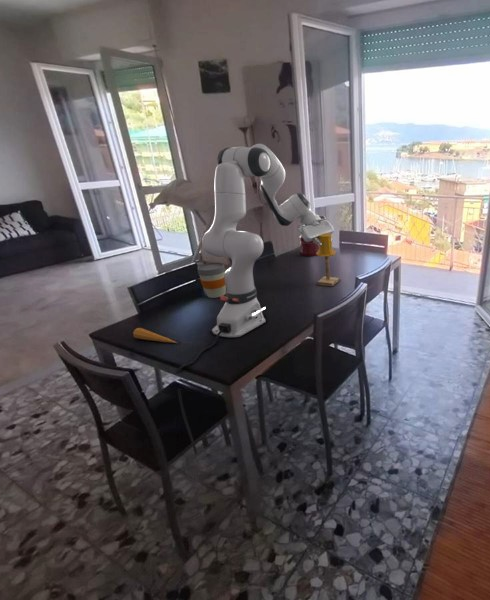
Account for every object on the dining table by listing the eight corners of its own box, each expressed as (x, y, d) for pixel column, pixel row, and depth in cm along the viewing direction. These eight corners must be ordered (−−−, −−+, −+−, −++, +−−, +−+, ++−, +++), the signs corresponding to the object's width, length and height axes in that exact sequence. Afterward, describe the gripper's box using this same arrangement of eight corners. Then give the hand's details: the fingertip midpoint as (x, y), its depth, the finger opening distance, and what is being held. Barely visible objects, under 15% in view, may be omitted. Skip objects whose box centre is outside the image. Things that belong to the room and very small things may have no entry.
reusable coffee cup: (220, 287, 188) (214, 260, 182) (234, 292, 181) (229, 264, 175) (198, 295, 179) (191, 267, 173) (212, 301, 172) (206, 272, 166)
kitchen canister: (298, 256, 236) (295, 229, 229) (304, 250, 248) (302, 225, 240) (317, 256, 234) (315, 230, 227) (322, 251, 246) (320, 225, 238)
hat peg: (332, 286, 187) (330, 258, 180) (317, 284, 190) (314, 256, 183) (339, 280, 195) (337, 253, 188) (324, 278, 197) (322, 251, 191)
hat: (330, 257, 179) (329, 237, 175) (313, 255, 182) (311, 236, 178) (338, 251, 188) (337, 233, 184) (321, 250, 191) (320, 231, 187)
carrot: (134, 340, 141) (128, 333, 138) (142, 331, 144) (136, 324, 140) (177, 351, 137) (172, 344, 133) (184, 342, 140) (179, 335, 136)
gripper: (299, 222, 174) (315, 244, 173) (326, 215, 189) (341, 235, 188) (293, 230, 178) (309, 252, 177) (320, 222, 193) (335, 242, 192)
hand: (326, 243), depth 183 cm, fingers closed on hat, 6 cm apart
